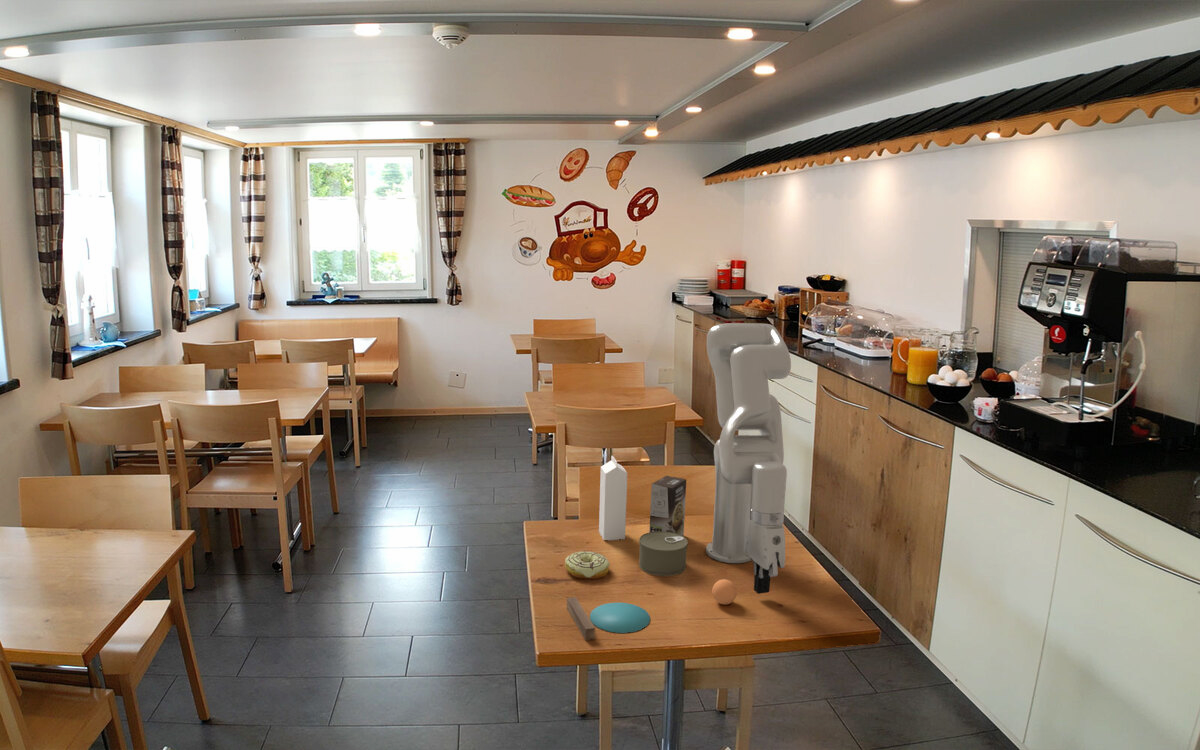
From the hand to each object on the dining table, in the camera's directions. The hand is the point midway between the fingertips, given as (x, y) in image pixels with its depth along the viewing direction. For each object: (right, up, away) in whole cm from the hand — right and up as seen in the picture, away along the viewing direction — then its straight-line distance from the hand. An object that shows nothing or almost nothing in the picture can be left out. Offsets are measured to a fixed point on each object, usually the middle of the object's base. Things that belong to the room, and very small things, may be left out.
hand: (761, 591), depth 185 cm
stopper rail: (-41, -3, -13) cm, 43 cm away
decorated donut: (-40, +1, +12) cm, 42 cm away
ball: (-9, +1, -3) cm, 9 cm away
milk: (-34, +6, +34) cm, 48 cm away
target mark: (-33, -3, -10) cm, 34 cm away
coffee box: (-19, +5, +34) cm, 39 cm away
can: (-22, +2, +16) cm, 27 cm away
